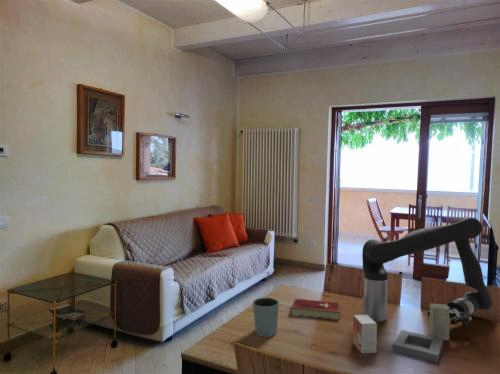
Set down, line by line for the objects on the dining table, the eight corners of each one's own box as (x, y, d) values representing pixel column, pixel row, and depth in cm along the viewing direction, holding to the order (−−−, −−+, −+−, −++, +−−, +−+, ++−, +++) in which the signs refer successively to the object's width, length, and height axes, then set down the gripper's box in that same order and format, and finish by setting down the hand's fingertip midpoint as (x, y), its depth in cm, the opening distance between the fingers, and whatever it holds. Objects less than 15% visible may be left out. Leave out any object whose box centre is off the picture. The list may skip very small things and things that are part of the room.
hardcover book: (294, 306, 171) (294, 297, 170) (340, 310, 165) (340, 301, 165) (290, 316, 159) (290, 306, 159) (339, 321, 153) (339, 311, 153)
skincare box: (447, 336, 138) (447, 304, 138) (449, 341, 134) (450, 308, 133) (428, 333, 140) (429, 302, 140) (430, 338, 136) (431, 306, 135)
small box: (352, 343, 132) (352, 314, 132) (367, 342, 133) (367, 314, 132) (361, 354, 124) (361, 323, 124) (376, 353, 125) (377, 323, 125)
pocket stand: (392, 351, 126) (393, 344, 126) (401, 336, 138) (401, 329, 138) (438, 362, 118) (438, 355, 118) (442, 345, 130) (442, 339, 130)
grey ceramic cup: (282, 329, 144) (282, 299, 144) (273, 339, 135) (273, 308, 135) (259, 325, 149) (259, 296, 148) (248, 334, 139) (248, 304, 139)
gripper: (442, 295, 152) (421, 303, 143) (479, 304, 141) (460, 314, 131) (441, 312, 153) (421, 322, 143) (479, 323, 141) (459, 334, 132)
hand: (440, 318), depth 137 cm, fingers open, 8 cm apart
